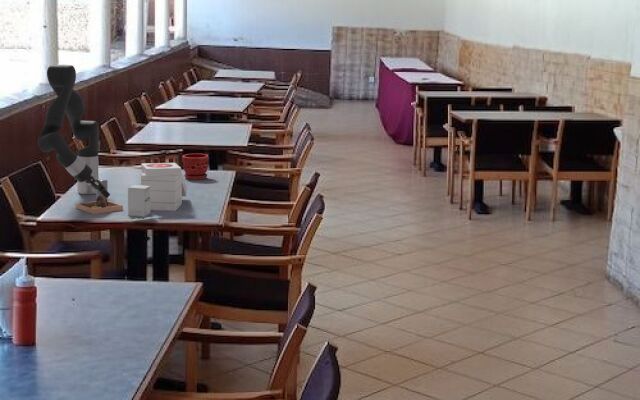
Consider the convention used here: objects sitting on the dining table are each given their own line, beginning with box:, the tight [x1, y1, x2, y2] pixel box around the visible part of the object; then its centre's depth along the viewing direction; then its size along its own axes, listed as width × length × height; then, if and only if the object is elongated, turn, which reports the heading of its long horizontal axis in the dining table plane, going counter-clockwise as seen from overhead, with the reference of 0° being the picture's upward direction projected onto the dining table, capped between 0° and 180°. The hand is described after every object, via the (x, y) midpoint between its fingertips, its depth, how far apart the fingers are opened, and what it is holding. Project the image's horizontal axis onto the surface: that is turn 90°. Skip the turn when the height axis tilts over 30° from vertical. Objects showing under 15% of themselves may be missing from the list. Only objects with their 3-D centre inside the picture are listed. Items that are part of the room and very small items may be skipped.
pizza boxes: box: [140, 162, 188, 212], centre depth 442 cm, size 19×30×18 cm, turn 177°
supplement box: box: [127, 184, 151, 220], centre depth 415 cm, size 7×7×13 cm
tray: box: [75, 200, 124, 215], centre depth 424 cm, size 14×14×3 cm
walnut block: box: [80, 201, 94, 208], centre depth 423 cm, size 4×4×2 cm
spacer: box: [95, 179, 109, 207], centre depth 426 cm, size 5×5×11 cm
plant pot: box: [181, 153, 210, 181], centre depth 510 cm, size 13×13×12 cm
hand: (106, 195), depth 427 cm, fingers closed on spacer, 4 cm apart
